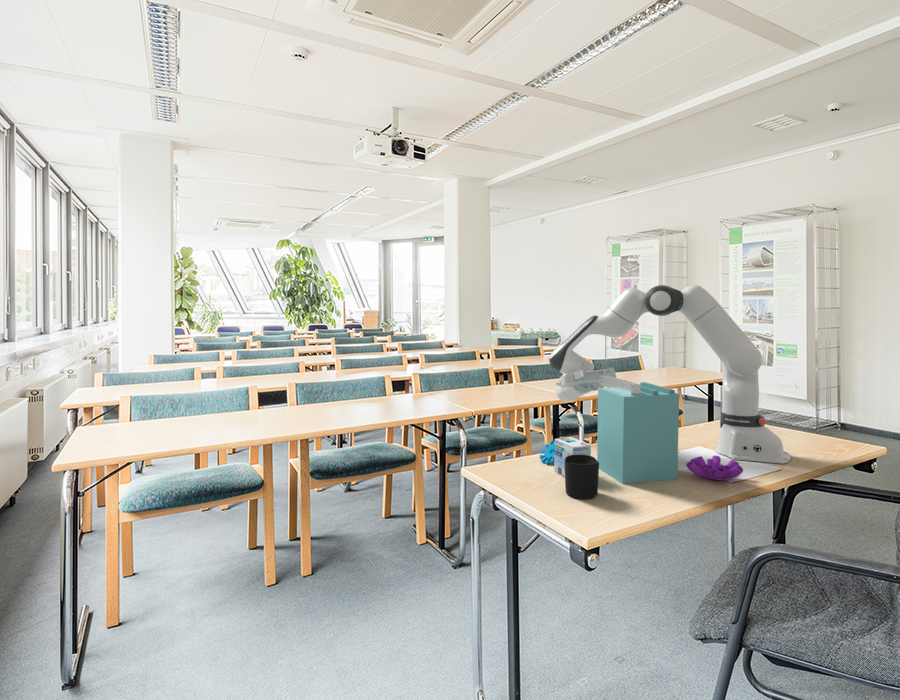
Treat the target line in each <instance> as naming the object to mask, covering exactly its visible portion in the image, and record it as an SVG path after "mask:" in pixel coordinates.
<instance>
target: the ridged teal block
mask: <svg viewBox="0 0 900 700" xmlns="http://www.w3.org/2000/svg"><path fill="white" fill-rule="evenodd" d="M639 383H640V395H629V394H626V393H623V392H620V391H617V390H614V389H611V388H607V387H604V388H598V390H597V440H596V441H597V448H596V449H597V450H596V451H597V452H596V453H597V454H596V455H597V456H596V457H597V458H596V460H597V461H598V462H599V470H601V471H602V472H604V473H605V474H607V475H608V476H610V477H612V478H613V479H615V480H616V481H618V482H619V483H620V484H622V485H623V484H625V485H626V484H635V483H636V484H637V483H647V482H657V481H658V482H659V481H667V480H668V481H669V480H677V479H678V463H679V462H678V459H679V424H680V423H679V418H680V413H679V412H680V393H678V392H676V390H675V389H673V388H668V387H665V386H660V385H656V384H653V383H648V382H646V381H641V382H639Z"/></svg>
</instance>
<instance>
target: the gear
mask: <svg viewBox="0 0 900 700" xmlns="http://www.w3.org/2000/svg"><path fill="white" fill-rule="evenodd" d="M543 447H544V448H545V449H544V448H542V449H541V450H540V453H541V454H539V459H540V461H541V463H542V462H543V463H542V464H547V465H549V464H550V463H551V464H554V460H555V440H553V439H551V440H549V444H548V443H545V445H543Z"/></svg>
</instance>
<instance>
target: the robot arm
mask: <svg viewBox="0 0 900 700" xmlns="http://www.w3.org/2000/svg"><path fill="white" fill-rule="evenodd" d="M676 312H679V313H682V314H683V315H684V316H685V317H686V319H687V320H688V321H689V322H690V324H691V325H692V326H693V328H695V330H696V331H697V332H698V334H700V336H701V337H702V338H703V339H704V341H705V342H706V343H707V344H708V346H709V347H710V348H711V349H712V351H713V352H714V353H715V354H716V356H717V357H718V358H719V359H720V361H721V362H722V400H721V402H722V403H721V404H722V406H721V411H720V413H719V427H720V430H719V431H720V432H719V438H718V441H717V443H716V444H717V445H716V447H715V452H717V453H718V454H720V455H723V456H726V457H729V458H730V459H731V460H732V459H733V460H736V461H737V460H739V461H751V462H761V463H770V464H771V463H773V464H788V463H790V461H791V454H790V453H789V452H788V451H786V450H784V446H783V441H782V440H781V438H780V436H778V435H777V434H776V433H774V432H773V431H772V430H770V429H769V428H768V427H767V426H765V424H766V423H767V421H766V418H765V416H764V415H761V414H760V413H759V405H760V404H759V402H760V401H759V398H760V389H759V385H760V384H759V370H760V368H761V366H762V363H763V355H762V353H761V351H760V350H759V349H758V347H757V346H756V345H755V344H754V342H753V341H752V340H751V339H750V338H749V337H748V336H747V335H746V333H745V332H744V331H743V329H741V328H740V326H739V325H738V324H737V323H736V322H735V321H734V320H733V318H732V317H731V316H730V315H729V313H728V312H727V311H726V310H725V309H724V307H722V305H721V304H720V303H719V302H718V301H717V300H716V298H715V297H714V296H713V295H712V294H711V293H710V292H709V291H707V290H706V289H705V288H704V287H702V286H701V285H698V284H690V285H688V286H686V287H684V288H683V289H682V290H680V289H679V290H678V289H677V288H674V287H671V286H669V285H666V284H659V285H656V286H652V287H651V288H650V289H649V290H648V291H646V292H643V291H642V290H640V289H637V288H633V287H629V288H626V289H625V290H624V291H623V292H622V293H620V295H618V296H617V298H615V300H614V301H613V302H612V303H611V304H610V306H609V307H608V308H607V309H606V311H604V312H603V313H601V314H599V315H595V314H594V315H592V316H590V317H589V318H587V320H585V321H584V322H583V323H582V324H580V326H579V327H578V328H577V329H576V330H575V331H574V332H573V333H572V334H571V335H569V337H567V338H566V340H564V341H563V342H562V343H561V344H560V345H559V346H557V347H556V348H555V349H553V351H552V352H551V354H550V355H549V358H548V360H549V364H550V368H551V369H553V370H555V371H557V372H559V373H561V374H562V375H561V376H560V377H559V379H558V381H557V382H555V386H556V388H555V394H556V396H557V398H558V399H559V400H560V401H562V402H564V403H570V402H573V401H576V400H577V399H579V398H580V397H582V396H584V395H586V394H589V393H591V392H593V391H598V388H605V387H604V386H601V385H599V376H611V377H615V378H617V373H616V371H615V369H614V368H612V367H607V368H605V369H598V370H597V368H596V365H595V364H594V363H592V362H591V361H590V360H589V359H587V358H585V357H583V356H581V355H580V354H578V353H577V352H575V351H574V349H575V348H576V346H578V345H579V344H580V343H581V342H582V341H583V340H584V339H585V338H586V337H589V336H591V335H600V336H604V337H609V338H619V337H622V336H625V335H626V334H628V332H629V331H630V330H632V328H633V327H634V326H635V324H636V323H637V321H638V320H639V319H640V318H641V316H642V315H644V314H645V313H651V314H652V315H655V316H657V317H658V316H659V317H664V316H665V317H666V316H669V315H671V314H673V313H676Z"/></svg>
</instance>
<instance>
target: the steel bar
mask: <svg viewBox="0 0 900 700" xmlns="http://www.w3.org/2000/svg"><path fill="white" fill-rule="evenodd" d="M599 385H601V386H604V388H611V389H614V390H617V391H620V392H623V393H626V394H629V395H640V384H639V383H636V382H632V381H629V380H625V379H622V378H617V377H616V378H615V377H611V376H599Z"/></svg>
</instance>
